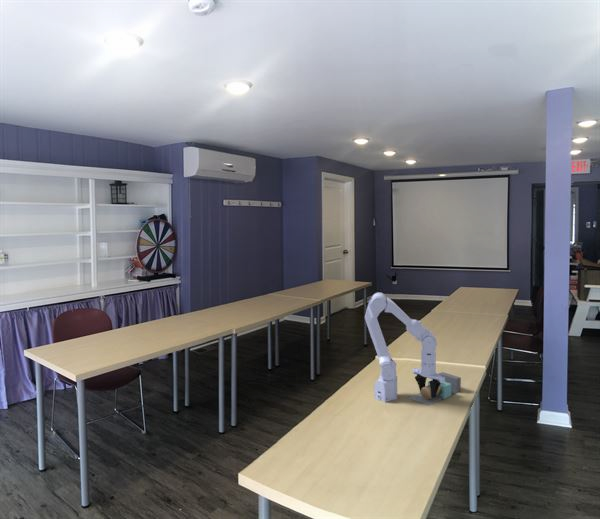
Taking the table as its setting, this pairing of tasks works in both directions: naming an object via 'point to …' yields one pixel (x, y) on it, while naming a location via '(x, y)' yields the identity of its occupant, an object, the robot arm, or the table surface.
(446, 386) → the teal arch
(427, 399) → the board
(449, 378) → the backstop wall
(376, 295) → the robot arm
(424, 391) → the dowel
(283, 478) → the table surface
